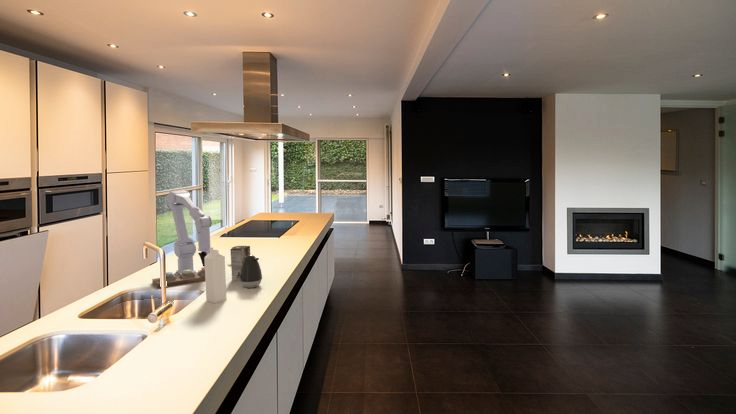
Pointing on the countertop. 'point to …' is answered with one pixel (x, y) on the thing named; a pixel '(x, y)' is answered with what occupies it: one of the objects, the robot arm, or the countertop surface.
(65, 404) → the countertop surface
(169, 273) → the slate blue button
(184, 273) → the sage button
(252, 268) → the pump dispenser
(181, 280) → the button panel
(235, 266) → the coffee box
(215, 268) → the milk
